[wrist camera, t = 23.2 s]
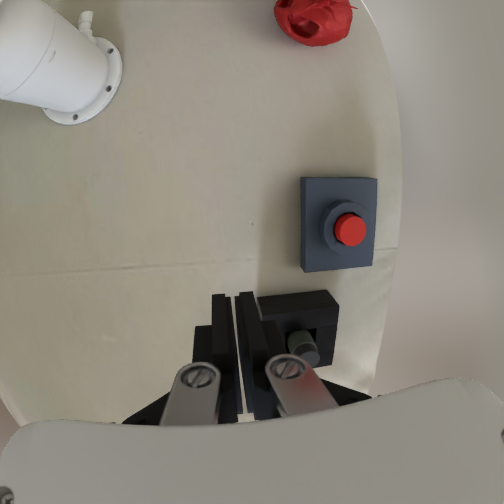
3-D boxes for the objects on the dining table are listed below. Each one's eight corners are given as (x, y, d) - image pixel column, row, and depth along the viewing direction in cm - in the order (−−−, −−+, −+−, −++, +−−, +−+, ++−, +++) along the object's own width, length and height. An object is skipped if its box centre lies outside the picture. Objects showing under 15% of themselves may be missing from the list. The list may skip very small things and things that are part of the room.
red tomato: (325, -6, 27) (350, -37, 18) (350, 49, 30) (384, 26, 21) (259, -1, 27) (271, -37, 18) (283, 58, 30) (304, 30, 21)
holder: (256, 296, 40) (262, 315, 35) (326, 289, 41) (339, 305, 36) (258, 354, 43) (263, 375, 38) (321, 345, 44) (331, 364, 39)
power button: (334, 214, 33) (340, 217, 32) (360, 213, 34) (367, 216, 32) (333, 243, 35) (339, 247, 33) (359, 241, 35) (365, 245, 33)
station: (300, 177, 35) (310, 179, 31) (369, 177, 36) (384, 180, 32) (300, 266, 39) (308, 278, 35) (365, 260, 40) (378, 270, 36)
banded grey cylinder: (280, 314, 41) (295, 352, 33) (302, 312, 41) (322, 347, 33) (280, 333, 42) (294, 372, 34) (301, 331, 42) (320, 368, 34)
